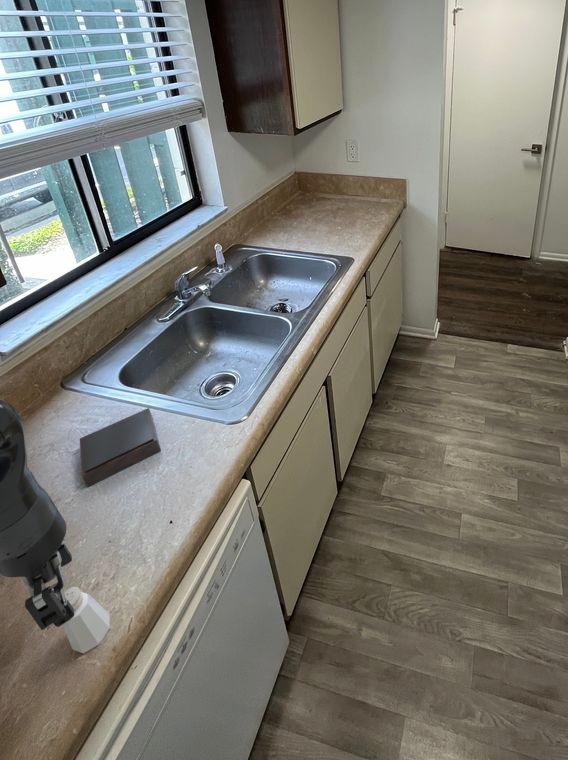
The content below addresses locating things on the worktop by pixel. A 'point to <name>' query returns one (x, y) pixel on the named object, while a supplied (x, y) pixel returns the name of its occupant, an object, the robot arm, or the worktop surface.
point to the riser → (118, 447)
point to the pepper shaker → (85, 621)
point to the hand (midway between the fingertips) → (65, 590)
